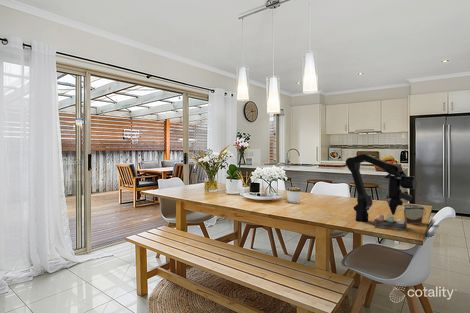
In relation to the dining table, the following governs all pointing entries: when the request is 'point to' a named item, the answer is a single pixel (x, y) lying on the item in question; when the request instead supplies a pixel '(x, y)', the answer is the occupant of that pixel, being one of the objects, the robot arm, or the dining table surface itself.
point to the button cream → (399, 221)
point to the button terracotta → (380, 218)
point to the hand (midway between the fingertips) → (393, 214)
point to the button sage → (390, 219)
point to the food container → (413, 213)
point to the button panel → (390, 225)
